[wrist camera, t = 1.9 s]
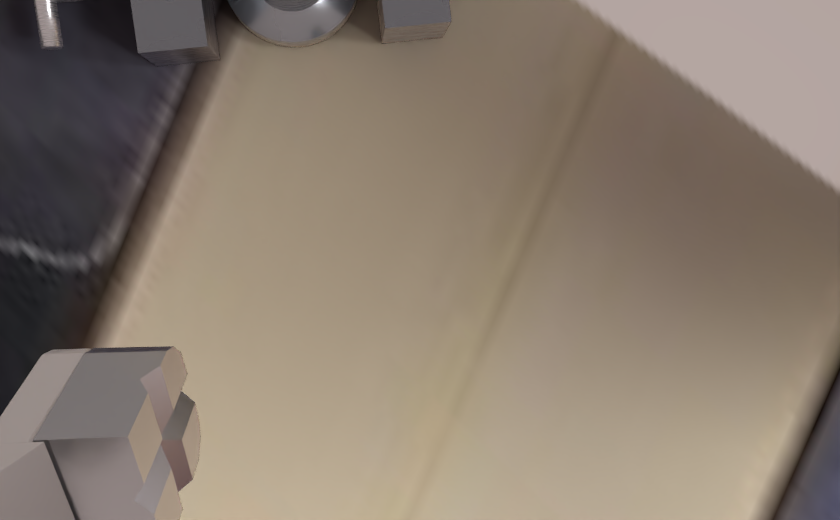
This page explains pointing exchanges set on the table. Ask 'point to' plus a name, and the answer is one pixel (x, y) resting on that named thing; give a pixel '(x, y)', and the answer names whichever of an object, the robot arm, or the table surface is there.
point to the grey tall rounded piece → (293, 19)
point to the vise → (197, 38)
